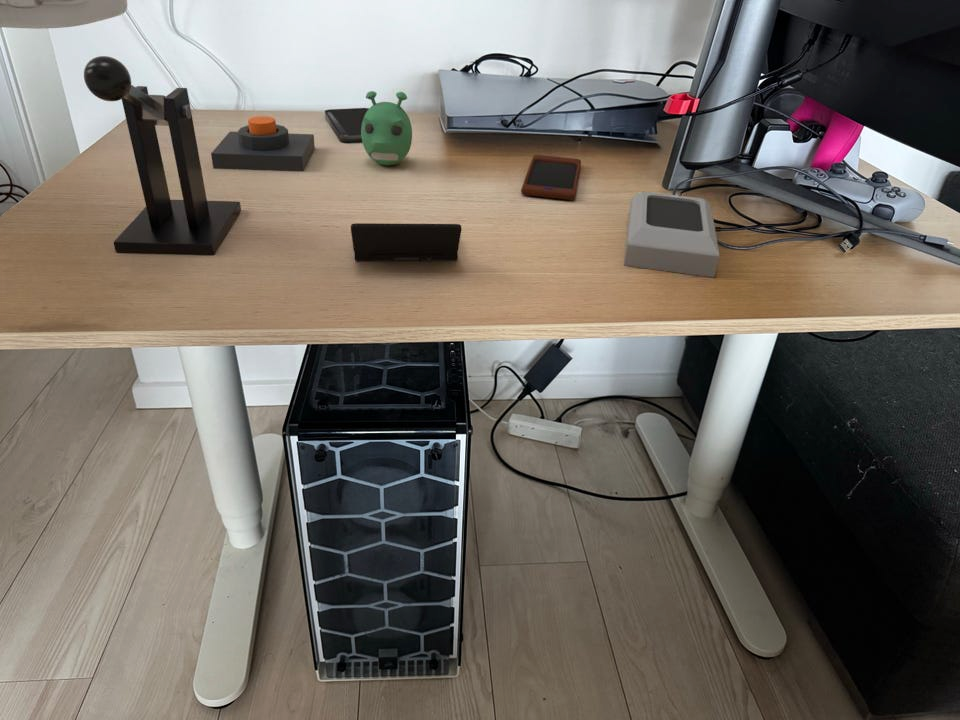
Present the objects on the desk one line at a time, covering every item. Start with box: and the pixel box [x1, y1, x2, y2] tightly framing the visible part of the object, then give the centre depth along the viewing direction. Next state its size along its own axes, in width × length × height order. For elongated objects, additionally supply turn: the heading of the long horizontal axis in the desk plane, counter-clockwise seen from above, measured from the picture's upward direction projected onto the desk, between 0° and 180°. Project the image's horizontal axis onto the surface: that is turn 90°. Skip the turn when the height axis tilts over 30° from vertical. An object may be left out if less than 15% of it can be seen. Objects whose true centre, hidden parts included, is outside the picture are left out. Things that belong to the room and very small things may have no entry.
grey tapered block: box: [623, 191, 721, 278], centre depth 81 cm, size 10×4×15 cm
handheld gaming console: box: [350, 222, 462, 262], centre depth 74 cm, size 12×7×10 cm
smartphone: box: [520, 154, 582, 201], centre depth 97 cm, size 7×1×15 cm
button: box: [247, 115, 277, 135], centre depth 97 cm, size 4×4×2 cm
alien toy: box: [361, 90, 413, 167], centre depth 97 cm, size 7×8×10 cm
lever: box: [83, 55, 169, 127], centre depth 66 cm, size 14×4×4 cm, turn 2°
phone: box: [324, 107, 370, 144], centre depth 113 cm, size 8×1×15 cm
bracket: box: [113, 85, 242, 256], centre depth 74 cm, size 12×10×15 cm
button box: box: [210, 124, 316, 172], centre depth 98 cm, size 12×10×4 cm
